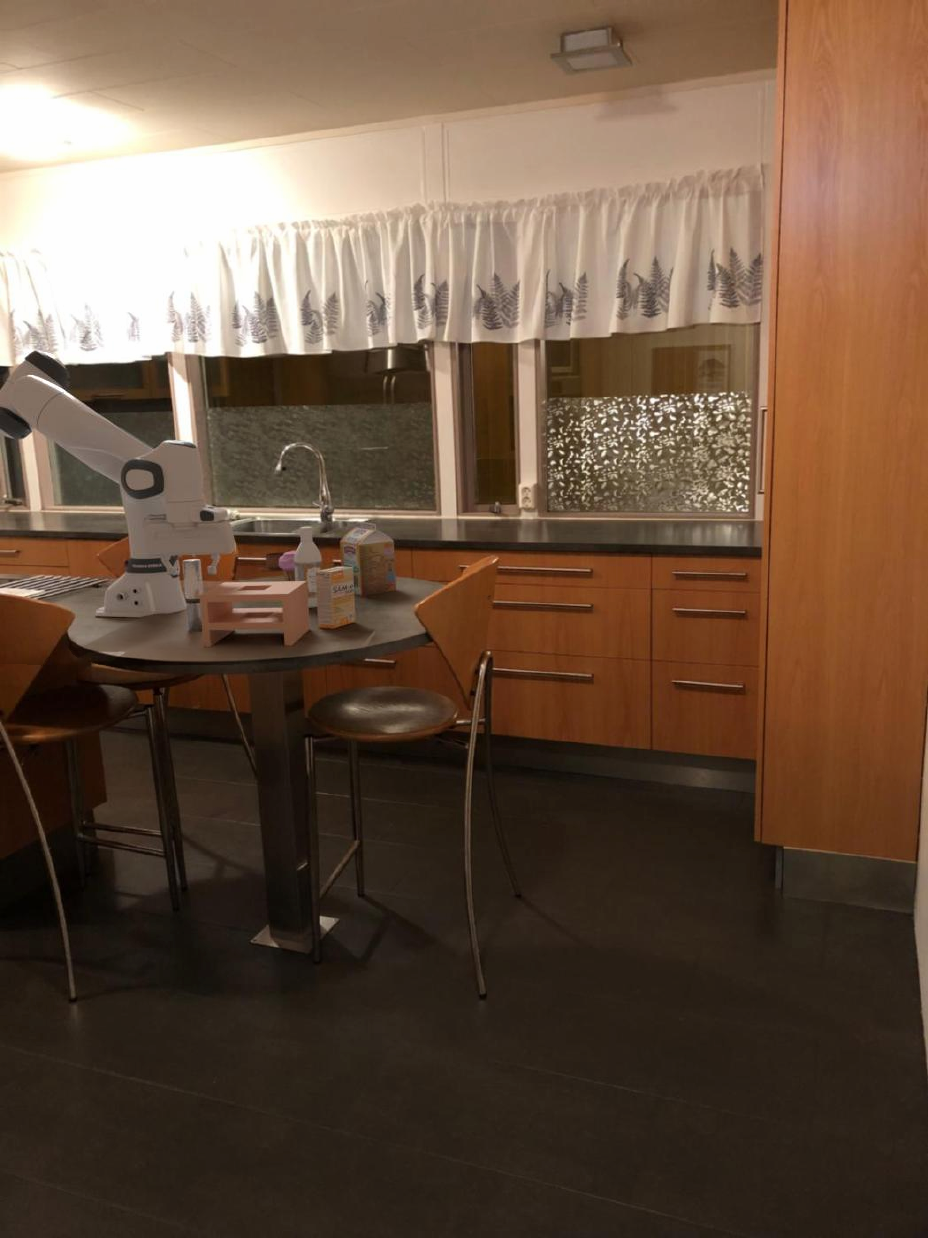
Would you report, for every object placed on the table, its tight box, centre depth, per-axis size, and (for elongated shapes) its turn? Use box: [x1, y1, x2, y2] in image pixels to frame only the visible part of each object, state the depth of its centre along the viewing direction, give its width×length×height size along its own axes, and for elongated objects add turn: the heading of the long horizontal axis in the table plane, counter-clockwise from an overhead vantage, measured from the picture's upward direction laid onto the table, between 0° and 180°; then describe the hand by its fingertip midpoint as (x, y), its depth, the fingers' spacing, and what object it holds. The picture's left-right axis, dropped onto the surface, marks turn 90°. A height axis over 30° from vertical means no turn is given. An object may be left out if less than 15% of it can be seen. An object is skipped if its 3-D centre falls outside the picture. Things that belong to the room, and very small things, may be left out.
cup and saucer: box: [258, 551, 286, 573], centre depth 305 cm, size 12×12×6 cm
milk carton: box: [339, 521, 397, 597], centre depth 264 cm, size 11×11×19 cm
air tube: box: [181, 558, 204, 633], centre depth 224 cm, size 4×4×16 cm
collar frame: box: [199, 580, 311, 647], centre depth 214 cm, size 19×16×11 cm
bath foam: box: [294, 526, 324, 609], centre depth 248 cm, size 7×7×20 cm
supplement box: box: [315, 566, 356, 629], centre depth 224 cm, size 8×5×13 cm, turn 148°
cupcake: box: [279, 549, 296, 581], centre depth 281 cm, size 9×9×10 cm
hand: (192, 574), depth 223 cm, fingers open, 8 cm apart
